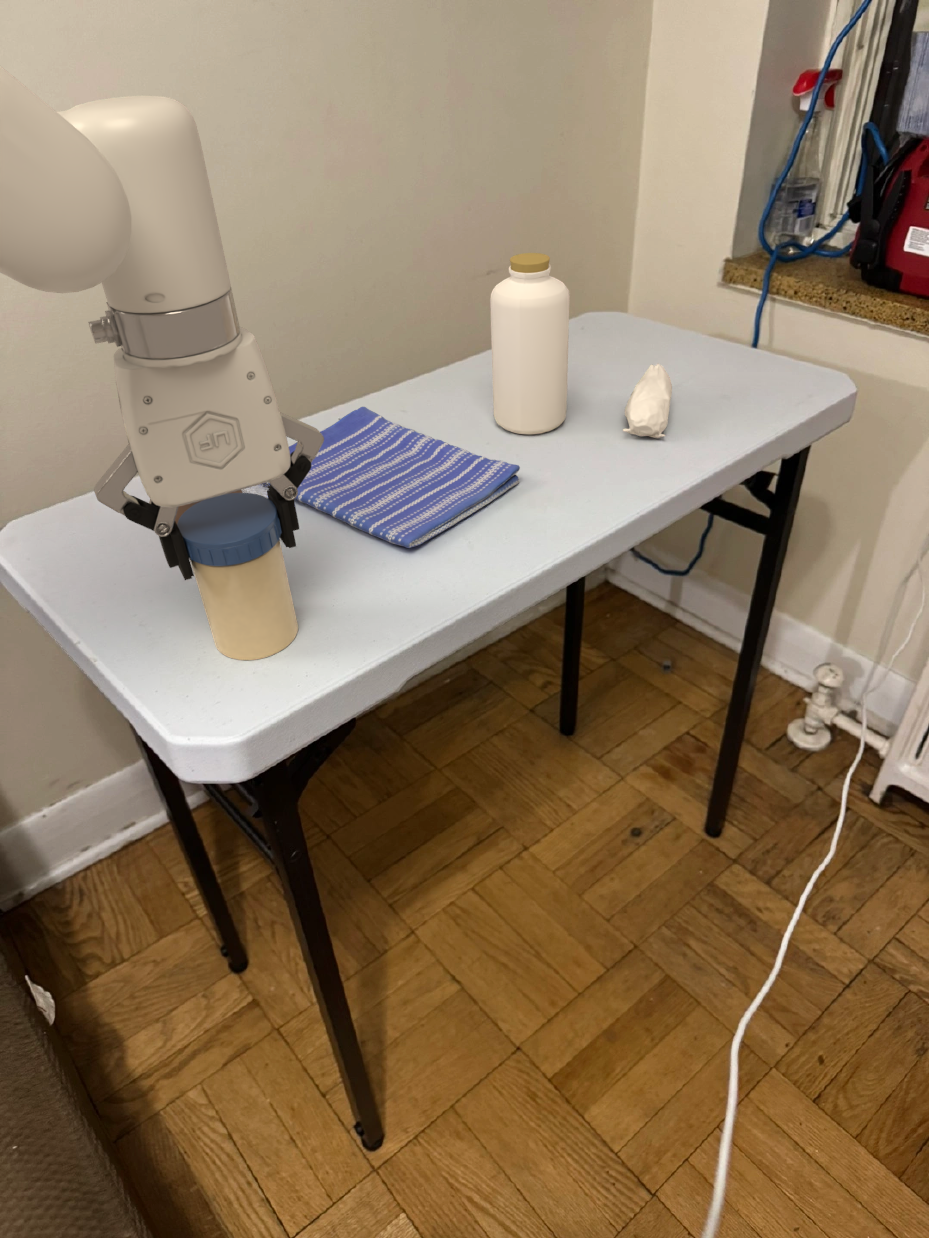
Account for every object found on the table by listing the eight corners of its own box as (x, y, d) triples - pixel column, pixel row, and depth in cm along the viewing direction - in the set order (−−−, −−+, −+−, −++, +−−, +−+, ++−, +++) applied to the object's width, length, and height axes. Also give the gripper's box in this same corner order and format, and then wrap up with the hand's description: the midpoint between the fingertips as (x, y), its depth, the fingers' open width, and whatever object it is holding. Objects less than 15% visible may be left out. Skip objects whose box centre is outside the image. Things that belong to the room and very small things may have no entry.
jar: (227, 671, 67) (194, 558, 61) (205, 624, 72) (172, 515, 66) (309, 642, 70) (286, 530, 63) (283, 599, 74) (259, 491, 68)
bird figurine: (621, 416, 102) (620, 434, 93) (636, 358, 99) (637, 370, 90) (662, 425, 102) (665, 444, 93) (679, 367, 99) (683, 381, 90)
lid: (195, 577, 61) (189, 555, 60) (172, 530, 67) (166, 509, 65) (295, 547, 64) (290, 525, 63) (265, 504, 69) (260, 483, 68)
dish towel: (365, 423, 101) (362, 401, 99) (525, 482, 88) (525, 457, 86) (247, 482, 91) (242, 458, 89) (408, 558, 78) (405, 531, 77)
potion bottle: (519, 401, 104) (517, 243, 93) (579, 416, 100) (585, 253, 89) (479, 427, 99) (473, 264, 88) (541, 444, 95) (543, 275, 84)
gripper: (41, 373, 50) (130, 617, 60) (326, 312, 55) (360, 544, 66) (27, 335, 55) (111, 565, 66) (289, 283, 61) (326, 502, 72)
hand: (236, 553), depth 66 cm, fingers closed on lid, 7 cm apart
